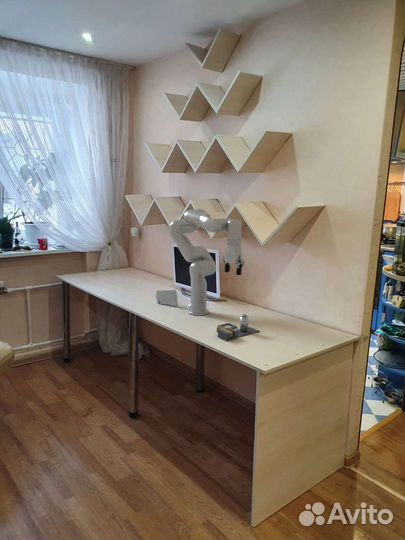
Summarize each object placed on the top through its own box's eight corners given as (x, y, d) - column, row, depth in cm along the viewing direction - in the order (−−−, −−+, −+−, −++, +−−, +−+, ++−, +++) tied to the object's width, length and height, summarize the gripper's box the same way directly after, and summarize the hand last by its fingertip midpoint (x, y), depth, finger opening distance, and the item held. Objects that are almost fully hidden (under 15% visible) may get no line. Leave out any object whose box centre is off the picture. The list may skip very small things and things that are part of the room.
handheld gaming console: (159, 305, 269) (178, 306, 261) (156, 306, 267) (175, 307, 259) (157, 289, 268) (176, 289, 260) (155, 289, 265) (173, 289, 258)
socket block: (217, 337, 207) (218, 329, 206) (228, 334, 211) (228, 327, 211) (226, 341, 202) (226, 333, 201) (237, 338, 206) (237, 331, 205)
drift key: (216, 332, 211) (216, 327, 211) (220, 331, 213) (220, 326, 212) (229, 337, 203) (229, 332, 203) (233, 336, 205) (233, 331, 204)
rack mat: (228, 332, 214) (228, 332, 214) (249, 327, 223) (249, 326, 223) (238, 337, 208) (238, 336, 207) (259, 331, 216) (259, 330, 216)
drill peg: (238, 331, 215) (238, 314, 214) (243, 329, 218) (244, 313, 216) (243, 333, 212) (244, 316, 211) (249, 331, 215) (249, 315, 213)
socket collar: (217, 326, 223) (217, 325, 223) (228, 324, 228) (228, 322, 228) (226, 330, 217) (226, 329, 217) (237, 327, 222) (237, 326, 222)
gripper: (218, 241, 226) (217, 271, 230) (239, 244, 213) (238, 277, 216) (228, 240, 231) (228, 270, 234) (249, 243, 217) (248, 275, 221)
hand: (232, 273), depth 225 cm, fingers open, 9 cm apart
